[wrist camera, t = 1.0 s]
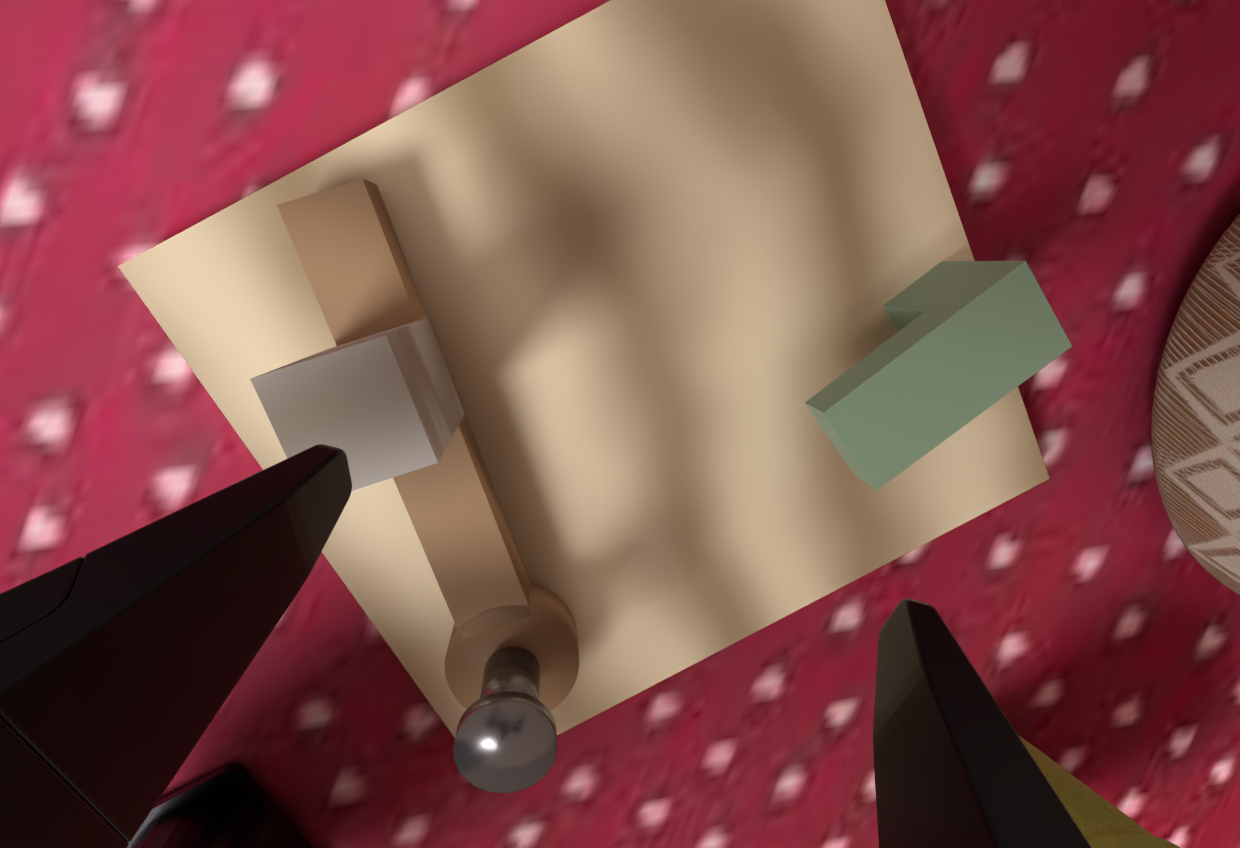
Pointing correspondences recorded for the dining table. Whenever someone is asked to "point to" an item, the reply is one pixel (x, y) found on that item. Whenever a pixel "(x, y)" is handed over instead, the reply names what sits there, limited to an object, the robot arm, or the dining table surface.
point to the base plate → (631, 323)
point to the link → (410, 435)
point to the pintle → (507, 726)
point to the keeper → (939, 364)
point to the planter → (1203, 415)
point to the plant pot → (1094, 810)
